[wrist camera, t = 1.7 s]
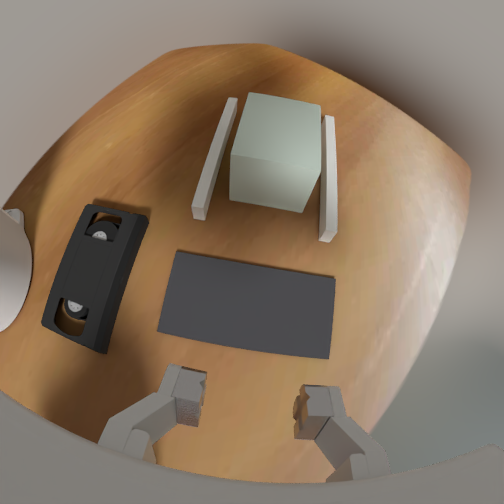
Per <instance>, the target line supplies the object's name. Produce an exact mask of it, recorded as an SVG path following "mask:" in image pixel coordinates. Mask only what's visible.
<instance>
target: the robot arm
mask: <svg viewBox="0 0 504 504" xmlns="http://www.w3.org/2000/svg"><path fill="white" fill-rule="evenodd" d="M31 270H32V254H31V247H30V244H29V241H28V238H27V236H26V234H25V231H24V215H23V212H22V211H20V210H19V209H9V210H3V209H2V208H1V207H0V332H1V331H3V330H4V329H6V328H7V327H8V326H9V325H10V324H11V323H12V322H13V321H14V319H15V318H16V316H17V315H18V313H19V311H20V309H21V307H22V305H23V303H24V300H25V298H26V295H27V291H28V288H29V283H30V278H31ZM206 380H207V372H206V371H201V370H197V369H192V368H188V367H184V366H179V365H175V364H171V363H170V364H169V365H168V367H167V369H166V372H165V374H164V377H163V379H162V382H161V384H160V387H159V390H158V392H157V393H155V392H153V393H151V394H150V395H148V396H147V397H145V398H143V399H142V400H140V401H138V402H137V403H135V404H133V405H132V406H130V407H128V408H127V409H125V410H123V411H121V412H120V413H118V414H116V415H114V416H113V417H111V418H109V420H108V422H107V424H106V426H105V428H104V431H103V433H102V435H101V437H100V439H99V441H98V444H96V443H94V442H92V441H89V440H87V439H85V438H83V437H80V436H78V435H76V434H74V433H72V432H70V431H68V430H66V429H64V428H62V427H60V426H58V425H56V424H54V423H52V422H50V421H49V420H47V419H45V418H43V417H42V416H40V415H38V414H36V413H35V412H33V411H31V410H30V409H28V408H26V407H25V406H23V405H22V404H20V403H19V402H17V401H16V400H14V399H13V398H11V397H10V396H8V395H7V394H5V393H4V392H3V391H1V390H0V504H504V450H503V449H502V448H500V447H499V446H497V445H495V444H488V445H485V446H483V447H481V448H478V449H476V450H473V451H471V452H468V453H465V454H463V455H460V456H458V457H454V458H452V459H449V460H445V461H442V462H439V463H436V464H432V465H429V466H425V467H422V468H417V469H414V470H410V471H405V472H400V473H396V474H391V470H390V466H389V463H388V459H387V455H386V451H385V449H384V448H382V447H381V446H380V445H379V444H378V443H377V442H376V441H375V440H374V439H373V438H371V436H370V435H369V434H367V433H366V432H365V431H364V430H363V429H362V428H361V427H360V426H359V425H358V424H357V423H356V422H355V421H354V420H353V419H352V418H351V417H347V416H346V412H345V407H344V403H343V399H342V395H341V391H340V388H339V387H338V386H321V385H304V384H303V385H302V386H301V388H300V395H299V396H297V397H296V399H295V402H294V406H293V418H294V419H295V420H296V423H295V425H294V439H302V440H314V441H315V443H316V444H317V445H318V447H319V448H320V449H321V451H322V452H323V454H324V455H325V456H326V458H327V459H328V460H329V462H330V463H331V464H332V465H333V467H334V468H335V469H336V471H335V472H333V473H332V474H331V475H330V476H329V477H328V478H327V479H326V482H325V483H268V482H253V481H243V480H234V479H226V478H219V477H213V476H207V475H201V474H196V473H191V472H186V471H182V470H177V469H173V468H169V467H165V466H161V465H158V464H156V458H155V454H154V451H153V447H152V445H153V444H154V443H155V442H156V441H158V440H159V439H160V438H161V437H162V436H164V435H165V434H166V433H167V432H168V431H170V430H171V429H172V428H173V427H174V426H175V425H177V423H178V424H183V425H188V426H193V427H198V425H199V421H200V416H201V407H202V406H203V403H204V397H205V391H206Z"/></svg>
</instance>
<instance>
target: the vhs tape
mask: <svg viewBox="0 0 504 504" xmlns="http://www.w3.org/2000/svg"><path fill="white" fill-rule="evenodd" d="M96 212H103V213H107V214H112V215H117V216H120V217H121V218H122V222H121V224H117V223H113V222H109V221H99V222H96V223H94V224H92V225H91V226H90V227H89V228H88V229H87V227H88V224H89V222H90V220H92V219H93V214H94V213H96ZM148 224H149V221H148V219H147V217H146V216H144V215H140V214H130V213H129V212H125V211H120V210H115V209H111V208H106V207H101V206H96V205H92V204H87V205H86V206H85V208H84V210H83V212H82V214H81V216H80V218H79V220H78V222H77V225H76V227H75V229H74V231H73V234H72V236H71V238H70V240H69V243H68V245H67V248H66V250H65V253H64V255H63V258H62V260H61V263H60V265H59V268H58V271H57V273H56V276H55V279H54V282H53V285H52V288H51V291H50V294H49V297H48V300H47V303H46V307H45V310H44V313H43V317H42V321H41V324H42V326H44V327H46V328H48V329H50V330H52V331H54V332H56V333H58V334H60V335H62V336H64V337H66V338H68V339H70V340H72V341H74V342H76V343H78V344H81V345H83V346H85V347H87V348H89V349H92V350H94V351H96V352H99V353H103V354H107V350H108V346H109V342H110V338H111V334H112V331H113V327H114V323H115V320H116V317H117V313H118V310H119V306H120V303H121V300H122V297H123V294H124V291H125V287H126V284H127V281H128V278H129V275H130V273H131V270H132V267H133V264H134V261H135V258H136V256H137V253H138V250H139V248H140V245H141V242H142V240H143V237H144V235H145V232H146V229H147V227H148ZM117 228H119V229H117ZM86 229H87V230H86ZM85 231H86V232H85ZM61 297H62V298H65V303H64V306H65V310H66V312H67V314H68V315H69V316H71V317H72V318H75V319H78V320H84V319H86V318H87V319H86V320H84V321H86V323H85V326H84V330H83V333H82V335H80V336H71V335H68V334H66V333H64V332H62V331H61V330H60V329H59V328H58V327H57V326H56V325H55V319H54V317H55V313H56V310H57V307H58V303H59V300H60V298H61Z"/></svg>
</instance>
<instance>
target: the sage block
mask: <svg viewBox="0 0 504 504" xmlns="http://www.w3.org/2000/svg"><path fill="white" fill-rule="evenodd" d="M320 172H321V106H319V105H315V104H311V103H307V102H302V101H297V100H292V99H287V98H282V97H277V96H271V95H265V94H259V93H252V92H249V94H248V97H247V100H246V104H245V107H244V110H243V113H242V117H241V120H240V123H239V127H238V130H237V134H236V137H235V140H234V144H233V147H232V151H231V155H230V191H229V200H233V201H239V202H245V203H250V204H256V205H262V206H267V207H273V208H278V209H283V210H289V211H294V212H299V213H302V212H303V210H304V208H305V205H306V203H307V201H308V199H309V197H310V195H311V192H312V190H313V188H314V186H315V184H316V181H317V179H318V177H319V175H320Z"/></svg>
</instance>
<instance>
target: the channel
mask: <svg viewBox="0 0 504 504" xmlns="http://www.w3.org/2000/svg"><path fill="white" fill-rule="evenodd" d="M237 99H238V98H231V97H229V98H228V101H227V103H226V106H225V108H224V111H223V114H222V116H221V119H220V122H219V125H218V127H217V130H216V133H215V136H214V138H213V141H212V144H211V147H210V150H209V153H208V156H207V159H206V162H205V165H204V168H203V171H202V174H201V177H200V180H199V183H198V186H197V189H196V193H195V196H194V199H193V202H192V206H191V207H192V212H193V217H194V219H198V220H204V221H205V219H206V215H207V211H208V207H209V204H210V200H211V196H212V193H213V189H214V185H215V182H216V178H217V175H218V171H219V168H220V164H221V161H222V158H223V154H224V151H225V148H226V144H227V141H228V138H229V135H230V131H231V128H232V125H233V122H234V119H235V116H236V113H237ZM336 233H337V164H336V143H335V127H334V117H332V116H328V115H325V117H324V120H323V123H322V125H321V190H320V220H319V240H318V241H323V242H328V243H329V242H330V241H331V240H332V238H333V237H334V236H335V235H336ZM335 282H336V279H333V278H327V277H321V276H315V275H309V274H303V273H297V272H291V271H285V270H279V269H273V268H267V267H262V266H256V265H250V264H244V263H238V262H233V261H227V260H221V259H216V258H210V257H204V256H199V255H193V254H188V253H182V252H177V251H176V254H175V258H174V262H173V266H172V270H171V274H170V278H169V282H168V286H167V290H166V294H165V298H164V302H163V307H162V311H161V316H160V320H159V325H158V330H157V332H161V333H165V334H170V335H174V336H178V337H183V338H188V339H192V340H197V341H202V342H207V343H212V344H218V345H223V346H229V347H235V348H241V349H247V350H253V351H260V352H267V353H275V354H282V355H291V356H299V357H309V358H320V359H329V354H330V344H331V335H332V324H333V312H334V298H335Z"/></svg>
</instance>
